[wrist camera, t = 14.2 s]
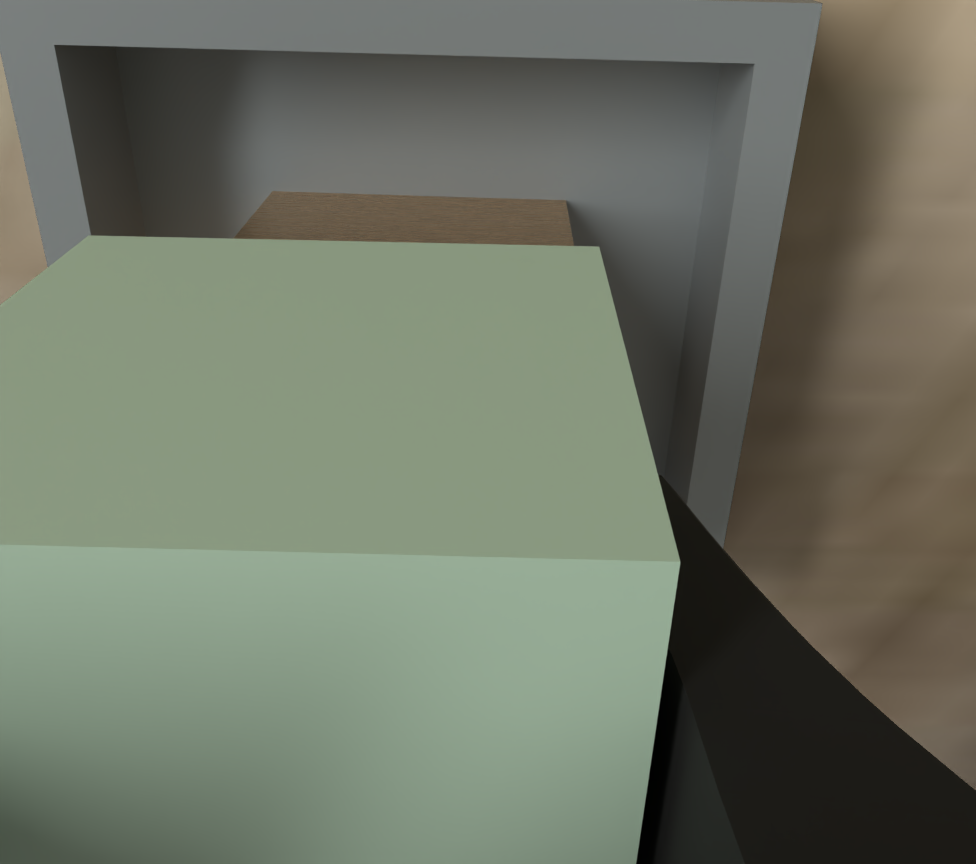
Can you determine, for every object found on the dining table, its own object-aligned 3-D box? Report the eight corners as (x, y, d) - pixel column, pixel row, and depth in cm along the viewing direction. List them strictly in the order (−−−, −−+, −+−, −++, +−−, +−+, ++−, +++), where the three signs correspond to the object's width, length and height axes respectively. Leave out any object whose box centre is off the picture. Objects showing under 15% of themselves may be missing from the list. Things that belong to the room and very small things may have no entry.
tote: (682, 550, 21) (706, 641, 19) (173, 534, 21) (126, 622, 19) (769, -14, 15) (821, 3, 13) (73, -32, 16) (-16, -19, 13)
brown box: (549, 452, 19) (561, 637, 14) (295, 444, 19) (222, 625, 14) (566, 200, 16) (587, 321, 12) (272, 191, 17) (175, 308, 12)
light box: (569, 636, 12) (604, 1080, 7) (167, 626, 12) (-39, 1060, 7) (598, 246, 9) (681, 562, 5) (89, 236, 9) (-295, 537, 5)
